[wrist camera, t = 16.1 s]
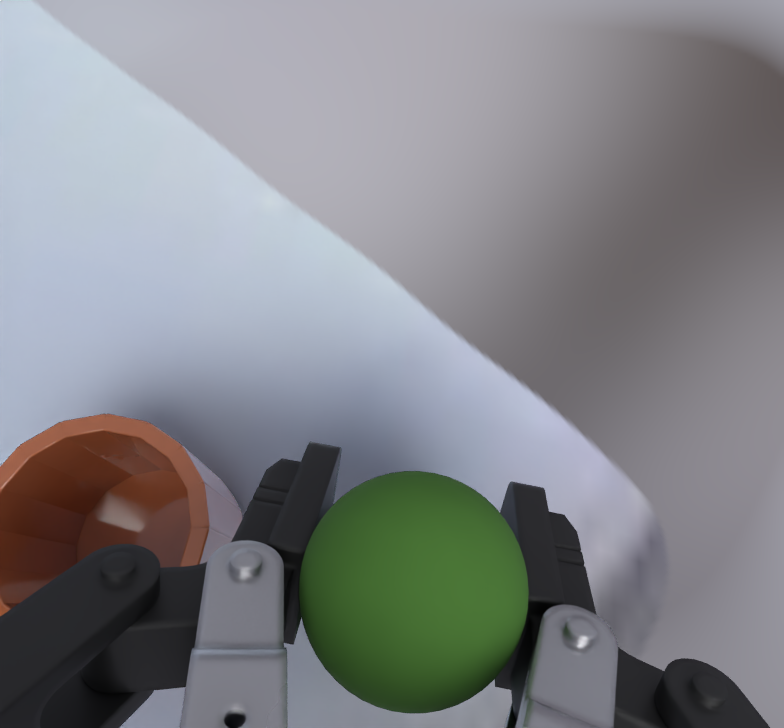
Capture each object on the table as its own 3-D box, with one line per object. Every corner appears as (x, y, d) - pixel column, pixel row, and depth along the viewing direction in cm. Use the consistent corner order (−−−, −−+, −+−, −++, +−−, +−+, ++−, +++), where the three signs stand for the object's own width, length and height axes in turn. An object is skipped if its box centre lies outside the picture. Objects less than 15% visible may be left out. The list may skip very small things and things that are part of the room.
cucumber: (321, 642, 23) (256, 701, 9) (344, 531, 24) (321, 427, 10) (429, 664, 23) (540, 760, 9) (447, 551, 24) (569, 475, 10)
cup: (43, 620, 23) (-74, 627, 17) (103, 446, 25) (20, 395, 19) (219, 657, 23) (167, 677, 16) (265, 479, 25) (234, 438, 19)
